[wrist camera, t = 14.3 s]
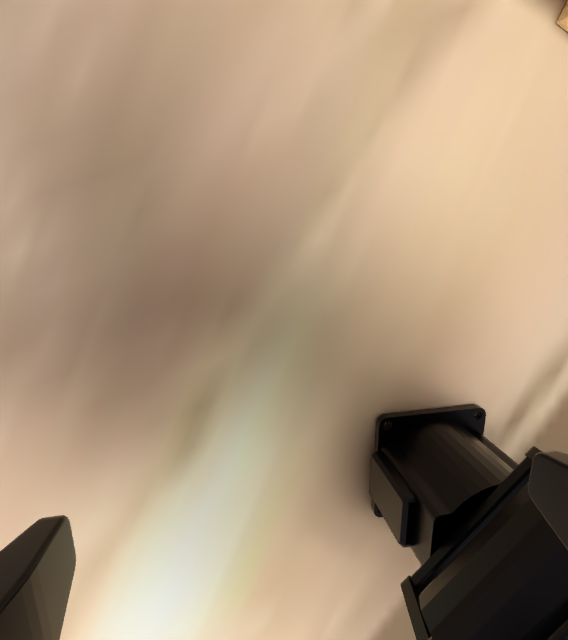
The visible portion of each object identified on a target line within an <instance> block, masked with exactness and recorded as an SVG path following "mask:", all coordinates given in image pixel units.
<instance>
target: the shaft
mask: <svg viewBox="0 0 568 640" xmlns="http://www.w3.org/2000/svg"><path fill="white" fill-rule="evenodd" d="M556 24H558V25H559V26H560V27H562V28H563V29H564V30H566V31H567V32H568V1H567V3H566V5H565V7H564V9H563V11H562V13H561V15H560V17H559V19H558V20H557V22H556Z"/></svg>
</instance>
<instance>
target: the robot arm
mask: <svg viewBox="0 0 568 640" xmlns="http://www.w3.org/2000/svg"><path fill="white" fill-rule="evenodd" d="M475 413H477V415H476V416H474V415H475ZM485 417H486V412H485V410H484V409H483V408H481V407H480V406H478V405H468V406H458V407H448V408H439V409H429V410H420V411H410V412H400V413H391V414H384V415H381V416H380V417H379V418H378V419H377V422H376V434H375V451H374V452H373V453H372V455H371V463H370V481H369V493H370V495H371V496H372V505H371V507H372V510H373V512H374V514H375V515H376V516H377V517H384V519H385V521H386V522H387V524H388V526H389V528H390V529H391V531H392V533H393V534H394V536H395V538H396V540H397V541H398V543H399V544H400V545H401V546H402V547H411V549H412V551H413V552H414V554H415V555H416V557H417V559H418V560H419V562H420V564H421V565H422V566H421V567H420V568H419V569H418V570H417V571H416V572H415V573H414V574H413V575H412V576H408V577H407V578H406V579H405V580H404V581H403V582H402V583H401V588H402V591H403V595H404V598H405V602H406V606H407V609H408V612H409V616H410V619H411V622H412V626H413V629H414V632H415V636H416V639H417V640H568V454H565V453H561V452H558V451H547V452H542V451H540V450H539V449H537V448H536V447H534V446H533V447H532V448H531V449H530V450H529V451H528V452H527V453H526V454H525V455H526V456H527V457H526V458H525V459H524V460H523V461H522V462H521V463H520V464H519V465H518V464H517V463H516V462H515V461H513V460H512V459H511V458H510V457H508V456H507V455H506V454H505V453H504V452H502V451H501V450H500V449H499V448H498V447H496V446H495V445H494V444H493V443H491V442H490V441H489V440H488V439H487V438H485V437H484V436H483V432H484V424H485ZM385 422H389V423H388V425H387V426H383V425H384V423H385ZM75 565H76V554H75V548H74V542H73V537H72V531H71V526H70V521H69V519H68V517H66V516H64V515H61V516H54V517H46V518H41V519H39V520H38V521H36V522H35V523H34V524H33V525H31V526H30V527H29V528H28V529H27V530H25V531H24V532H23V533H22V534H21V535H19V536H18V537H17V538H16V539H15V540H13V541H12V542H11V543H10V544H9V545H7V546H6V547H5V548H4V549H2V550H1V551H0V640H59V639H60V635H61V630H62V626H63V621H64V617H65V612H66V608H67V603H68V599H69V594H70V590H71V585H72V580H73V576H74V571H75Z"/></svg>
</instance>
